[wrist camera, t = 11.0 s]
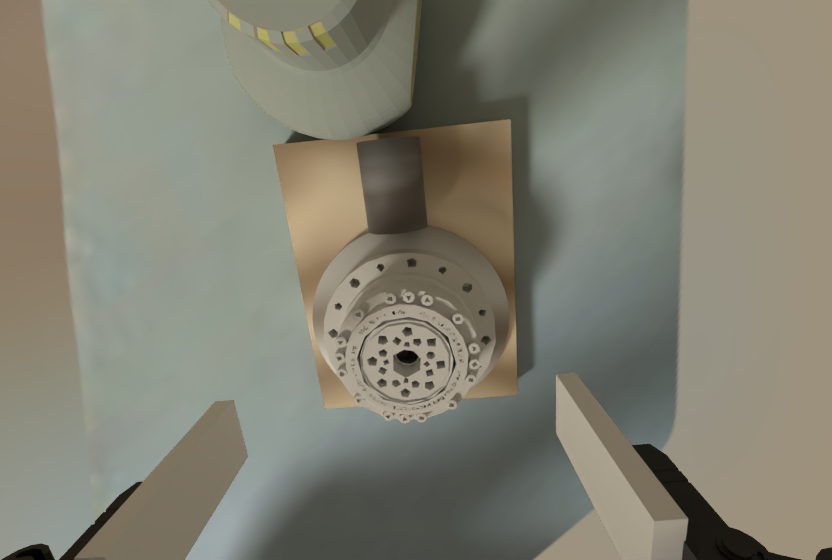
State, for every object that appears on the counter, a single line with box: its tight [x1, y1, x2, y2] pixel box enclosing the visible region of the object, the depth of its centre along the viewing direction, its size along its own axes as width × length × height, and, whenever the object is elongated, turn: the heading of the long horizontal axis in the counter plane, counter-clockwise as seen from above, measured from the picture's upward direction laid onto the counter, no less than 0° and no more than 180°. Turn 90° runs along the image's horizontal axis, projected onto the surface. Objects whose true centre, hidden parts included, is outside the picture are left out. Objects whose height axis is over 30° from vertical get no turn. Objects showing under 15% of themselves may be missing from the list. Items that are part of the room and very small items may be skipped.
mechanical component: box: [324, 249, 496, 423], centre depth 21 cm, size 10×4×10 cm
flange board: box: [273, 119, 518, 409], centre depth 22 cm, size 17×13×5 cm
